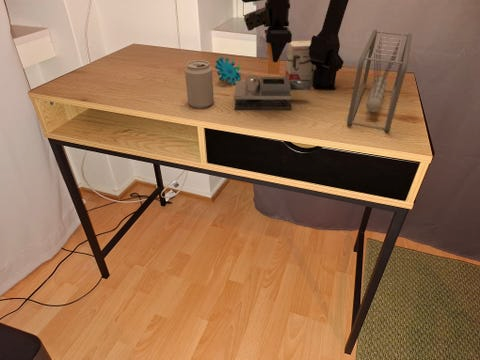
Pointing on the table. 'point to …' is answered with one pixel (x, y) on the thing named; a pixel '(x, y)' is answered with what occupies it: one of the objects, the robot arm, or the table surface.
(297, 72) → the ink box
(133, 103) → the table surface
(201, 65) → the can
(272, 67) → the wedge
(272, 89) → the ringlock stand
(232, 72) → the gear
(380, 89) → the newton's cradle
